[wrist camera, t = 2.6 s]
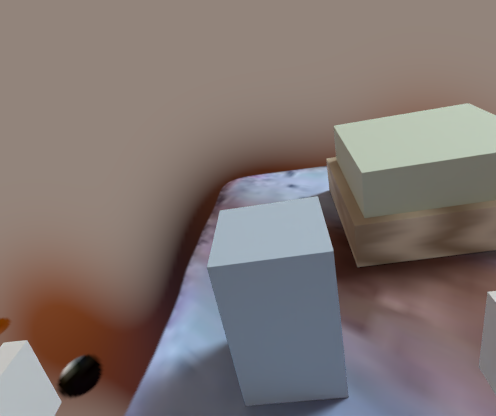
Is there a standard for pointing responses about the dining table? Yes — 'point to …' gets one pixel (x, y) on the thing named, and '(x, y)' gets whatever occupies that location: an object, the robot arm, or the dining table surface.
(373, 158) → the top brick
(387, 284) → the dining table surface
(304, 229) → the tall brick
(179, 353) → the dining table surface
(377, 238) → the base brick
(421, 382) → the dining table surface
